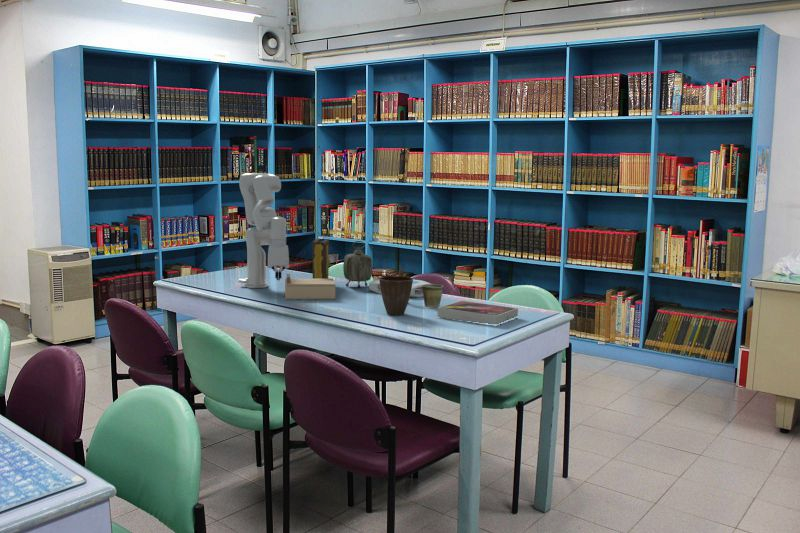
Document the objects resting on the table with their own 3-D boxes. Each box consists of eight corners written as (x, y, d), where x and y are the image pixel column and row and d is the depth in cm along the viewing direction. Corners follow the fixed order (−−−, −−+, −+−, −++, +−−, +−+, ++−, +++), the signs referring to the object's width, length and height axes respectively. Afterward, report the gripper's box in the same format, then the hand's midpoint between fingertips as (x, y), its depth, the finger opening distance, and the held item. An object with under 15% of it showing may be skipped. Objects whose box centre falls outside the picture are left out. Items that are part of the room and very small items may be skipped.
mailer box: (285, 299, 342) (285, 286, 341) (285, 293, 360) (285, 280, 359) (335, 299, 346) (335, 286, 345) (332, 293, 364) (332, 280, 363)
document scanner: (410, 299, 354) (410, 286, 353) (368, 292, 371) (368, 280, 370) (435, 294, 370) (435, 282, 369) (393, 287, 387) (393, 276, 387)
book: (326, 290, 372) (326, 242, 369) (309, 289, 373) (310, 242, 369) (330, 283, 394) (331, 238, 391) (315, 283, 394) (316, 238, 391)
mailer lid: (285, 285, 341) (285, 278, 341) (285, 280, 359) (285, 273, 358) (335, 285, 345) (335, 278, 345) (332, 280, 363) (332, 273, 362)
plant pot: (371, 313, 314) (372, 277, 312) (394, 309, 325) (395, 274, 323) (396, 318, 304) (397, 282, 302) (418, 314, 315) (419, 278, 313)
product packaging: (495, 327, 294) (496, 316, 294) (437, 318, 310) (437, 307, 309) (517, 319, 312) (518, 308, 312) (461, 311, 328) (461, 300, 327)
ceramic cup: (439, 309, 328) (439, 288, 327) (418, 307, 332) (419, 286, 330) (447, 304, 340) (447, 284, 339) (427, 302, 344) (428, 282, 342)
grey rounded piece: (368, 285, 391) (369, 240, 388) (373, 288, 383) (374, 241, 379) (342, 286, 387) (343, 240, 383) (347, 288, 378) (347, 242, 375)
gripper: (262, 243, 342) (262, 281, 344) (294, 243, 344) (293, 281, 347) (263, 241, 349) (263, 278, 352) (293, 242, 352) (293, 278, 354)
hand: (278, 279), depth 349 cm, fingers closed
